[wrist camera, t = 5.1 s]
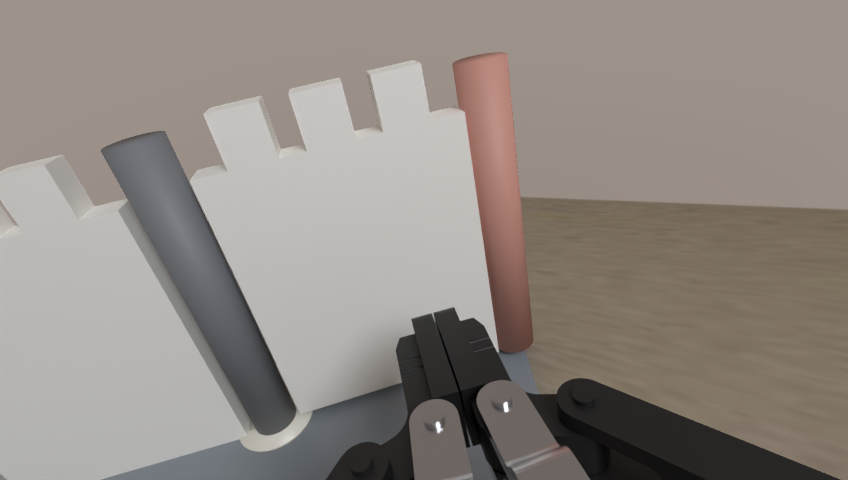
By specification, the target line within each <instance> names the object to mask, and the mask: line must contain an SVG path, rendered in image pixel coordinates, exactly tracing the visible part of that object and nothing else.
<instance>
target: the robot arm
mask: <svg viewBox="0 0 848 480" xmlns="http://www.w3.org/2000/svg"><path fill="white" fill-rule="evenodd" d="M433 315H434V318H433ZM433 315H432V313H430V314H426V315H423V316H419V317H415V318H412V319H411V321H412V325H413V328H414V332H415V334H412V335H408V336H405V337H401V338H399V341H398V344H397V347H396V355H397V360H398V365H399V370H400V375H401V380H402V385H403V390H404V395H405V400H406V405H407V411H408V415H407V420H406V423H405V425H404V426H403V428H402V429H401V431H400V432H399V433H398V434H397V435H396V436H394V437H393V438H392V439H390V440H388V441H387V442H385V443H384V444H382V445H380V444H377V443H374V442H362V443H359V444H356V445H354V446H352V447H351V448H349V449H348V450H347V451H346V452H345V453H344V454H343V455H342V456H341V458H340V459H339V461H338V462H337V464H336V465H335V467H334V468H333V470H332V471H331V473H330V474H329V475H328V477H327V478H326V480H474V479H473V475H472V471H471V466H470V462H469V457H468V453H467V449H466V448H469V447H471V446H470V442H469V437H468V433H469V436H470V439H471V442H472V445H473V446H476V445H479V444H481V447H482V450H483V453H484V456H485V458H486V460H487V462H488V464H489V468H490V471H491V473H492V475H493V478H494V480H840V479H837V478H835V477H832V476H830V475H827V474H825V473H822V472H820V471H817V470H815V469H813V468H810V467H808V466H805V465H803V464H800V463H798V462H795V461H793V460H790V459H788V458H785V457H783V456H780V455H778V454H775V453H773V452H770V451H768V450H765V449H763V448H760V447H758V446H755V445H753V444H750V443H748V442H745V441H743V440H740V439H738V438H735V437H733V436H730V435H728V434H725V433H723V432H720V431H718V430H715V429H713V428H710V427H708V426H705V425H703V424H700V423H698V422H695V421H693V420H690V419H688V418H685V417H683V416H680V415H678V414H675V413H673V412H670V411H668V410H665V409H663V408H660V407H658V406H655V405H653V404H650V403H648V402H645V401H643V400H641V399H638V398H636V397H633V396H631V395H628V394H626V393H623V392H621V391H618V390H616V389H613V388H611V387H608V386H606V385H603V384H601V383H598V382H596V381H593V380H590V379H583V378H578V379H572V380H569V381H567V382H565V383H564V384H562V385H561V386H560V388H559V389H558V391H557V394H532V393H528V392H525V391H524V390H523V389H522V387H520V386H519V385H518V384H516V383H514V382H512V381H511V379H510V377H509V375H508V373H507V371H506V369H505V367H504V365H503V363H502V361H501V359H500V357H499V355H498V353H497V351H496V349H495V347H494V345H493V343H492V341H491V339H490V337H489V335H488V333H487V331H486V329H485V327H484V325H483V324H481V323H480V322H479V321H477V320H476V319H475V318H470V319H466V320H462V321H460V320H459V317H458V315H457V313H456V310H455V308H454V307H452V308H448V309H445V310H441V311H438V312H434V313H433ZM434 320H435V321H434ZM466 427H467V428H466ZM467 430H468V432H467Z"/></svg>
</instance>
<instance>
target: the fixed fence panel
mask: <svg viewBox="0 0 848 480" xmlns="http://www.w3.org/2000/svg"><path fill="white" fill-rule="evenodd" d="M101 152H102V154H103V156H104V158H105V159H106V161H107V163H108V165H109V167H110V168H111V170H112V172H113V174H114V175H115V177H116V179H117V181H118V183H119V184H120V186H121V188H122V190H123V192H124V194H125V195H126V197H127V199H124V200H120V201H116V202H111V203H107V204H104V205H100V206H94V205H93V203H92V201H91V200H90V198H89V196H88V195H87V193H86V192H85V190H84V188H83V186H82V185H81V183H80V182H79V180H78V178H77V177H76V175H75V173H74V172H73V170H72V168H71V167H70V165H69V163H68V162H67V160H66V158H65V157H64V155H59V156H55V157H50V158H46V159H42V160H37V161H33V162H29V163H24V164H20V165H16V166H11V167H8V168H6V169H4V170H2V171H0V200H1V201H2V203H3V204H4V206H5V207H6V208H7V210H8V211H9V213H10V214H11V216H12V217H13V218H14V220H15V221H16V222H17V224H18V225H17V226H15V225H14V224H13V223H12V221H11V220H10V218H9V217H8V216H7V214H6V213H5V211H4V210H3V209H2V207H1V206H0V480H101V479H105V478H108V477H111V476H115V475H118V474H122V473H125V472H129V471H132V470H136V469H139V468H142V467H146V466H149V465H153V464H156V463H160V462H163V461H167V460H170V459H173V458H177V457H180V456H184V455H187V454H191V453H194V452H197V451H201V450H204V449H208V448H211V447H215V446H218V445H222V444H225V443H228V442H232V441H235V440H239V438H240V437H244V436H247V435H248V429H249V424H250V420H251V421H252V423H253V425H254V427H255V429H256V430H257V432H258V433H259V434H261V435H274V434H277V433H279V432H281V431H283V430H284V429H285V428H287V427H288V426H289V425H290V424H291V423H292V421H293V420H294V418H295V415H296V406H295V404H294V402H293V400H292V398H291V396H290V394H289V392H288V390H287V387H286V385H285V383H284V381H283V379H282V377H281V375H280V373H279V371H278V368H277V366H276V364H275V362H274V360H273V358H272V356H271V354H270V352H269V350H268V347H267V345H266V343H265V341H264V339H263V337H262V335H261V333H260V331H259V328H258V326H257V324H256V322H255V320H254V318H253V316H252V314H251V312H250V310H249V307H248V305H247V303H246V301H245V299H244V297H243V295H242V293H241V291H240V288H239V286H238V284H237V282H236V280H235V278H234V276H233V274H232V272H231V270H230V267H229V265H228V263H227V261H226V259H225V257H224V255H223V253H222V251H221V248H220V246H219V244H218V242H217V240H216V238H215V236H214V234H213V232H212V230H211V227H210V225H209V223H208V221H207V219H206V217H205V215H204V213H203V211H202V209H201V206H200V204H199V202H198V200H197V198H196V196H195V194H194V192H193V190H192V187H191V185H190V183H189V181H188V179H187V177H186V175H185V173H184V171H183V168H182V166H181V164H180V162H179V160H178V158H177V156H176V154H175V152H174V150H173V148H172V146H171V143H170V141H169V139H168V137H167V135H166V133H165V131H157V132H151V133H146V134H142V135H138V136H134V137H131V138H128V139H124V140H121V141H119V142H116V143H113V144H111V145H109V146H106V147H105V148H103V149H102V150H101Z"/></svg>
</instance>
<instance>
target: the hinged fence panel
mask: <svg viewBox="0 0 848 480" xmlns="http://www.w3.org/2000/svg"><path fill="white" fill-rule="evenodd" d="M453 71H454V78H455V85H456V92H457V98H458V104H459V108H458V107H456V106H454V107H450V108H446V109H442V110H438V111H434V112H429V107H428V101H427V95H426V90H425V84H424V79H423V73H422V68H421V63H419V62H417V61H415V60H412V61H408V62H403V63H399V64H394V65H390V66H386V67H382V68H378V69H374V70H369V71H366V73H367V77H368V81H369V86H370V90H371V94H372V98H373V102H374V106H375V111H376V115H377V119H378V123H379V125H377V126H373V127H369V128H365V129H361V130H357V131H354V128H353V125H352V121H351V117H350V113H349V109H348V106H347V102H346V98H345V95H344V91H343V87H342V83H341V80H340V79H339V78H335V79H330V80H326V81H322V82H317V83H314V84H309V85H305V86H300V87H297V88H292V89H290V90H289V98H290V101H291V104H292V107H293V110H294V113H295V116H296V119H297V122H298V125H299V129H300V131H301V135H302V138H303V141H304V144H301V145H297V146H293V147H289V148H285V149H280V146H279V143H278V140H277V137H276V135H275V132H274V129H273V126H272V123H271V120H270V118H269V115H268V112H267V109H266V106H265V103H264V101H263V98H262V96H258V97H254V98H249V99H245V100H241V101H236V102H232V103H228V104H224V105H219V106H215V107H211V108H209V109H208V110H207V112H205V113H204V114H203V115H204V117H205V119H206V121H207V124H208V126H209V129H210V131H211V133H212V136H213V138H214V141H215V143H216V145H217V148H218V150H219V152H220V154H221V157H222V159H223V162H224V164H220V165H216V166H213V167H209V168H205V169H200V170H197V172H196V173H195V174H194V176H193V177H192V178H191V180H190V182H191V185H192V187H193V189H194V191H195V193H196V195H197V197H198V200H199V202H200V204H201V206H202V208H203V210H204V212H205V214H206V216H207V218H208V221H209V223H210V225H211V227H212V229H213V231H214V233H215V235H216V238H217V240H218V242H219V244H220V246H221V248H222V250H223V252H224V254H225V257H226V259H227V261H228V263H229V265H230V267H231V269H232V271H233V273H234V276H235V278H236V280H237V282H238V284H239V286H240V288H241V290H242V292H243V295H244V297H245V299H246V301H247V303H248V305H249V307H250V309H251V311H252V314H253V316H254V318H255V320H256V322H257V324H258V326H259V328H260V330H261V333H262V335H263V337H264V339H265V341H266V343H267V345H268V347H269V349H270V352H271V354H272V356H273V358H274V360H275V362H276V364H277V366H278V368H279V371H280V373H281V375H282V377H283V379H284V381H285V383H286V385H287V387H288V390H289V392H290V394H291V396H292V398H293V400H294V402H295V404H296V406H297V409H298V411H299V413H300V414H304V413H307V412H310V411H313V410H316V409H320V408H323V407H326V406H329V405H332V404H335V403H339V402H342V401H345V400H348V399H351V398H355V397H358V396H361V395H364V394H367V393H370V392H374V391H377V390H380V389H383V388H386V387H389V386H393V385H396V384H399V383H402V380H401V375H400V370H399V365H398V360H397V355H396V347H397V344H398V341H399V338H401V337H405V336H408V335H412V334H415V332H414V328H413V325H412V321H411V319H412V318H415V317H419V316H423V315H426V314H430V313H432V315H433V313H434V312H438V311H441V310H445V309H448V308H452V307H454V308H455V310H456V313H457V315H458V317H459V320H460V321H462V320H466V319H470V318H475V319H476V320H477V321H479V322H480V323H481V324H483V325H484V327H485V329H486V331H487V333H488V335H489V337H490V339H491V341H492V343H493V345H494V347H495V349H496V351H497V353H498V352H499V349H500V350H502V351H505V352H510V353H516V352H521V351H523V350H526V349H527V348H528V347H530V345H531V344H532V342H533V330H532V319H531V309H530V298H529V287H528V276H527V265H526V254H525V243H524V232H523V221H522V210H521V199H520V189H519V178H518V167H517V157H516V145H515V134H514V123H513V112H512V101H511V91H510V80H509V69H508V58H507V53H503V52H497V53H487V54H481V55H476V56H471V57H467V58H463V59H460V60H458V61H455V62H454V63H453ZM433 318H434V315H433ZM434 321H435V320H434Z"/></svg>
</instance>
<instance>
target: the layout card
mask: <svg viewBox="0 0 848 480" xmlns="http://www.w3.org/2000/svg"><path fill="white" fill-rule="evenodd" d="M229 267H230V266H229ZM230 270H231V272H232V274H233V276H234V273H233V271H232V269H231V267H230ZM234 278H235V276H234ZM235 280H236V278H235ZM236 282H237V280H236ZM237 284H238V282H237ZM238 286H239V284H238ZM239 288H240V286H239ZM240 291H241V293H242V295H243V292H242V290H241V288H240ZM243 297H244V295H243ZM244 299H245V297H244ZM245 301H246V299H245ZM246 303H247V301H246ZM247 305H248V303H247ZM248 307H249V305H248ZM249 310H250V312H251V314H252V311H251V309H250V307H249ZM252 316H253V314H252ZM253 318H254V316H253ZM254 320H255V318H254ZM255 322H256V320H255ZM256 324H257V322H256ZM257 326H258V324H257ZM258 328H259V326H258ZM259 331H260V333H261V330H260V328H259ZM261 335H262V333H261ZM262 337H263V335H262ZM263 339H264V337H263ZM264 341H265V339H264ZM265 343H266V341H265ZM266 345H267V343H266ZM267 347H268V345H267ZM268 350H269V352H270V349H269V347H268ZM270 354H271V352H270ZM498 355H499V357H500V359H501V361H502V363H503V365H504V367H505V369H506V371H507V373H508V375H509V377H510V379H511V381H512V382H514V383H516V384H518V385H519V386H520V387H522V389H523V390H524V391H525V392H528V393H532V394H538V390H537V387H536V384H535V381H534V378H533V374H532V371H531V368H530V365H529V361H528V358H527V355H526V352H525V350H523V351H521V352H516V353H510V352H505V351H502V350H500V349H499V352H498ZM271 356H272V354H271ZM272 358H273V356H272ZM273 360H274V358H273ZM274 362H275V360H274ZM275 364H276V362H275ZM276 366H277V364H276ZM277 368H278V366H277ZM278 371H279V368H278ZM279 373H280V371H279ZM280 375H281V373H280ZM281 377H282V375H281ZM282 379H283V377H282ZM283 381H284V379H283ZM284 383H285V381H284ZM285 385H286V383H285ZM286 387H287V385H286ZM287 390H288V387H287ZM288 392H289V390H288ZM289 394H290V392H289ZM290 396H291V394H290ZM291 398H292V396H291ZM292 400H293V398H292ZM293 402H294V400H293ZM294 404H295V402H294ZM295 406H296V404H295ZM407 415H408V411H407V405H406V400H405V395H404V390H403V385H402V383H399V384H396V385H393V386H389V387H386V388H383V389H380V390H377V391H374V392H370V393H367V394H364V395H361V396H358V397H355V398H351V399H348V400H345V401H342V402H339V403H335V404H332V405H329V406H326V407H323V408H320V409H316V410H313V411H310V412H307V413H304V414H300V413H299V411H298V409H297V406H296V415H295V418H294V420H293V421H292V423H291V424H290V425H289V426H288V427H287V428H285V429H284V430H283V431H281V432H279V433H277V434H274V435H261V434H259V433H258V432H257V430H256V429H255V427H254V425H253V423H252V421H251V420H250V424H249V429H248V435H247V436H244V437H240V438H239V440H235V441H232V442H228V443H225V444H222V445H218V446H215V447H211V448H208V449H204V450H201V451H197V452H194V453H191V454H187V455H184V456H180V457H177V458H173V459H170V460H167V461H163V462H160V463H156V464H153V465H149V466H146V467H142V468H139V469H136V470H132V471H129V472H125V473H122V474H118V475H115V476H111V477H108V478H105V479H101V480H326V478H327V477H328V475H329V474H330V473H331V471H332V470H333V468H334V467H335V465H336V464H337V462H338V461H339V459H340V458H341V456H342V455H343V454H344V453H345V452H346V451H347V450H348V449H349V448H351V447H352V446H354V445H356V444H359V443H362V442H374V443H377V444H380V445H382V444H384V443H385V442H387V441H388V440H390V439H392V438H393V437H394V436H396V435H397V434H398V433H399V432H400V431H401V429H402V428H403V426H404V425H405V423H406V420H407ZM466 428H467V427H466ZM467 432H468V430H467ZM468 437H469V442H470V446H471V447H469V448H466V449H467V453H468V457H469V462H470V466H471V471H472V475H473V479H474V480H494V478H493V475H492V473H491V471H490V468H489V464H488V462H487V460H486V458H485V456H484V453H483V450H482V447H481V444H479V445H476V446H473V445H472V442H471V439H470V436H469V433H468Z"/></svg>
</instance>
